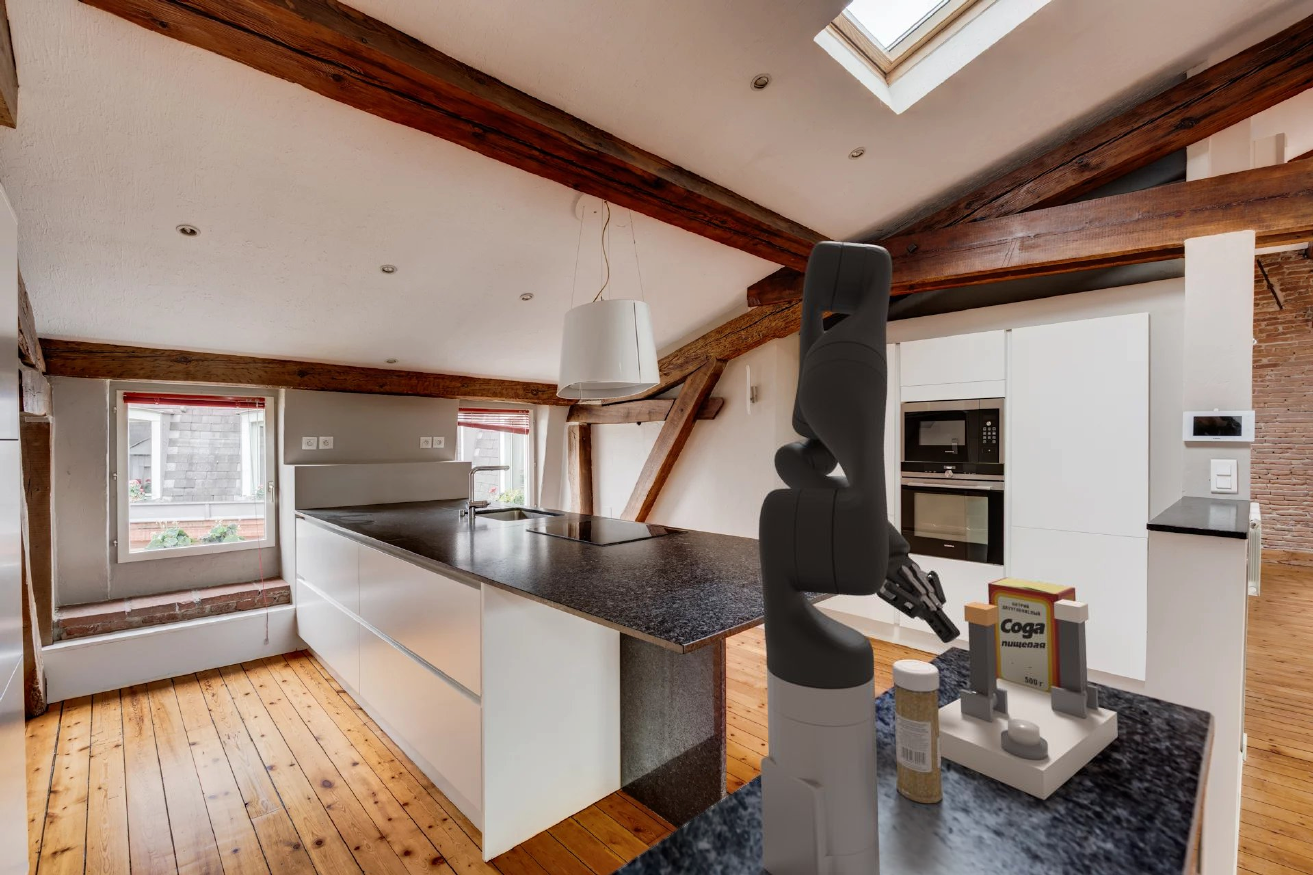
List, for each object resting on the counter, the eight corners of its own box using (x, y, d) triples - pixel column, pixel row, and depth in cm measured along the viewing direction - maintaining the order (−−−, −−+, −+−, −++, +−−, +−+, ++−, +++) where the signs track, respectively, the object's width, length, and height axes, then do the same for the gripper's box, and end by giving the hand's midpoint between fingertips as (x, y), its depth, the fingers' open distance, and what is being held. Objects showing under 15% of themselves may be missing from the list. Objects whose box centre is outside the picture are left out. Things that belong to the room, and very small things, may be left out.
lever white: (1083, 712, 72) (1079, 607, 72) (1057, 705, 74) (1054, 602, 74) (1091, 706, 73) (1087, 603, 74) (1066, 699, 75) (1062, 599, 76)
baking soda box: (991, 684, 89) (987, 580, 89) (1009, 674, 93) (1006, 575, 93) (1062, 705, 81) (1058, 592, 82) (1079, 693, 85) (1075, 585, 86)
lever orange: (990, 716, 71) (987, 609, 71) (967, 708, 73) (964, 605, 74) (1001, 710, 73) (997, 606, 73) (978, 702, 75) (974, 601, 75)
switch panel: (1044, 799, 59) (1042, 743, 60) (916, 745, 71) (915, 698, 71) (1117, 736, 72) (1115, 689, 72) (999, 699, 84) (997, 658, 84)
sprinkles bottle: (951, 795, 61) (947, 666, 61) (926, 810, 58) (922, 676, 58) (911, 775, 64) (908, 654, 65) (886, 789, 62) (883, 663, 62)
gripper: (857, 524, 81) (947, 633, 70) (909, 517, 88) (997, 614, 78) (827, 557, 85) (907, 664, 74) (879, 547, 92) (959, 643, 82)
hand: (953, 638), depth 76 cm, fingers closed
